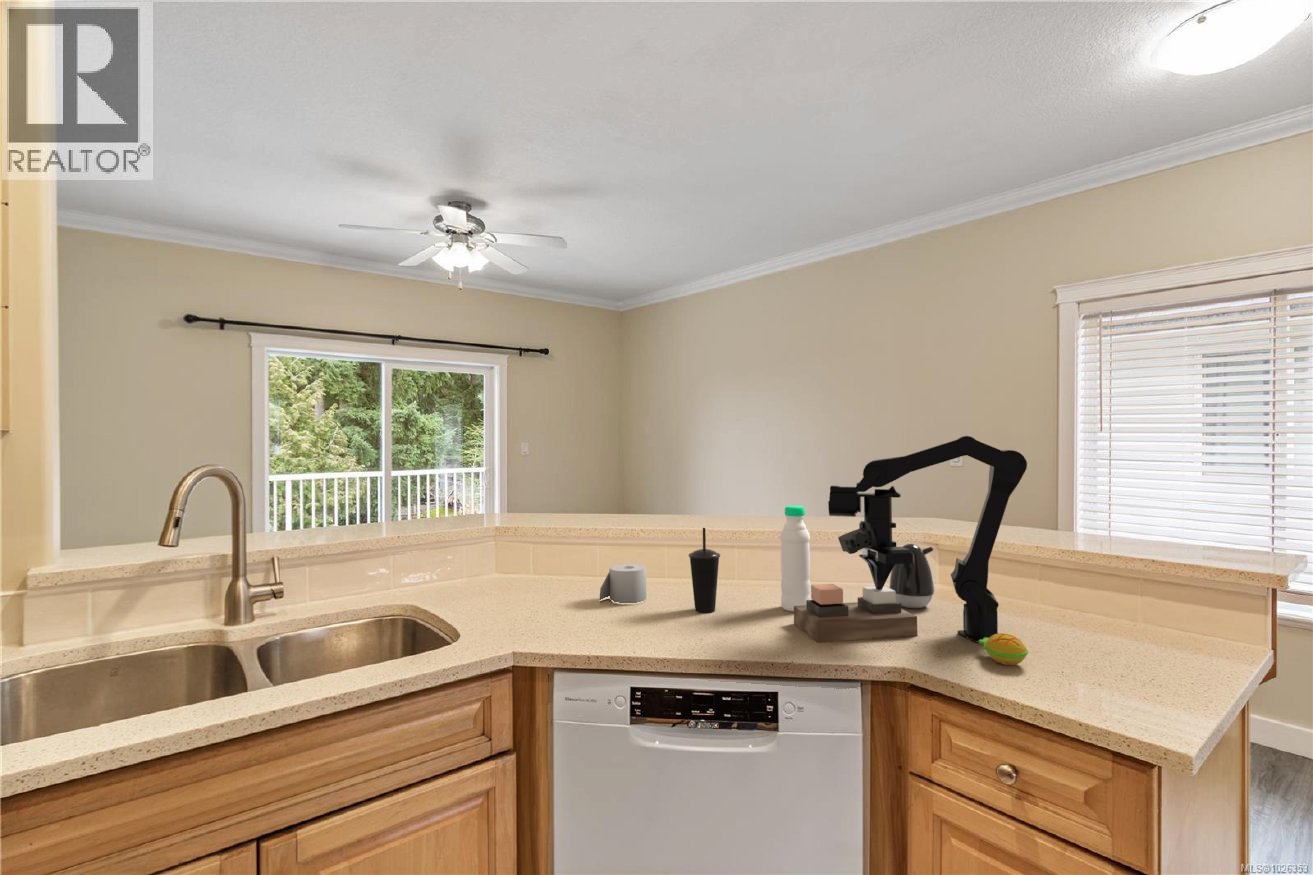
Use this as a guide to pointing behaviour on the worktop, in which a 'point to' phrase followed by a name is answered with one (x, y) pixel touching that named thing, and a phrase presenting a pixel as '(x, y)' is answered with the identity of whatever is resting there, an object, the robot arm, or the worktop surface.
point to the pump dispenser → (913, 579)
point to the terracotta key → (827, 594)
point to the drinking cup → (704, 577)
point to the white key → (879, 595)
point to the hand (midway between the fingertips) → (879, 589)
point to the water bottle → (795, 559)
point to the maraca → (1005, 648)
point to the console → (854, 620)
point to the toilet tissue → (625, 583)
